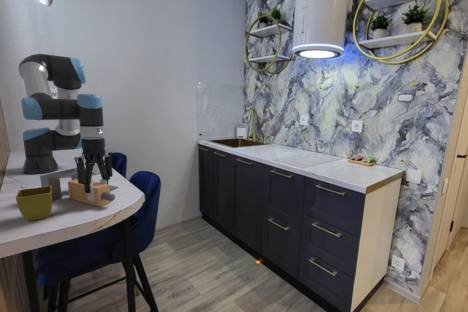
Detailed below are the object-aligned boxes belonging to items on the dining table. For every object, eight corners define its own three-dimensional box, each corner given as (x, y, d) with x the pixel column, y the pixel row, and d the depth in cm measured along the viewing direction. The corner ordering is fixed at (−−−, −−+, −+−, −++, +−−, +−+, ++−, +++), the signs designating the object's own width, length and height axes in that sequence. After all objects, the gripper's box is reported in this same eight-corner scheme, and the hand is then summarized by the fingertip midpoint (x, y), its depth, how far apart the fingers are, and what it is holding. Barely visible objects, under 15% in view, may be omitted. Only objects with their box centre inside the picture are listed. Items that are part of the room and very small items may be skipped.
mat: (71, 184, 112) (71, 183, 112) (85, 180, 119) (85, 179, 118) (104, 192, 104) (104, 191, 104) (118, 188, 110) (118, 186, 110)
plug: (69, 198, 96) (67, 181, 95) (81, 194, 101) (80, 178, 99) (106, 208, 88) (105, 190, 86) (118, 204, 92) (117, 186, 91)
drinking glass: (108, 172, 134) (106, 146, 131) (96, 175, 128) (94, 147, 125) (101, 170, 137) (99, 144, 134) (89, 173, 131) (86, 146, 128)
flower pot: (19, 225, 74) (15, 198, 73) (22, 215, 81) (18, 189, 80) (54, 218, 79) (51, 192, 78) (54, 209, 86) (51, 185, 85)
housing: (43, 199, 94) (40, 175, 92) (81, 188, 108) (79, 167, 106) (51, 202, 92) (47, 177, 90) (89, 190, 106) (87, 168, 104)
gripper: (74, 141, 79) (81, 208, 83) (120, 136, 95) (124, 192, 99) (60, 139, 81) (67, 204, 86) (107, 134, 98) (111, 189, 102)
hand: (97, 198), depth 93 cm, fingers closed on plug, 5 cm apart
